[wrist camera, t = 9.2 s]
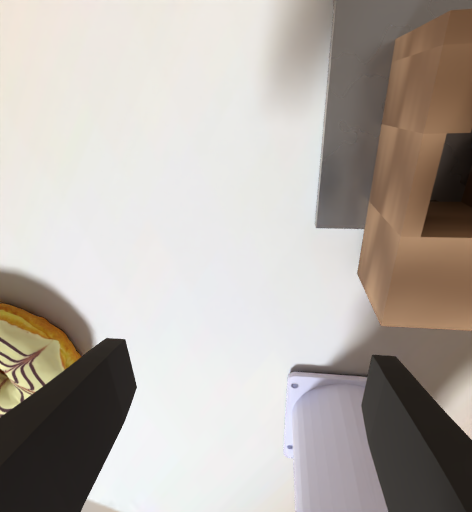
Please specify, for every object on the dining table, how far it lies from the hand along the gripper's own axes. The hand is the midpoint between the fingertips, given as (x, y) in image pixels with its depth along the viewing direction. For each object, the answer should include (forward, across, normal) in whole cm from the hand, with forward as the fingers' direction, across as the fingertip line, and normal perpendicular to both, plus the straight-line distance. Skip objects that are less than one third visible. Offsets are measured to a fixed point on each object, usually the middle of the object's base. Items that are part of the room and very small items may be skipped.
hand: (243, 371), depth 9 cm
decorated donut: (+10, +19, +10) cm, 24 cm away
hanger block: (+9, -8, -4) cm, 13 cm away
